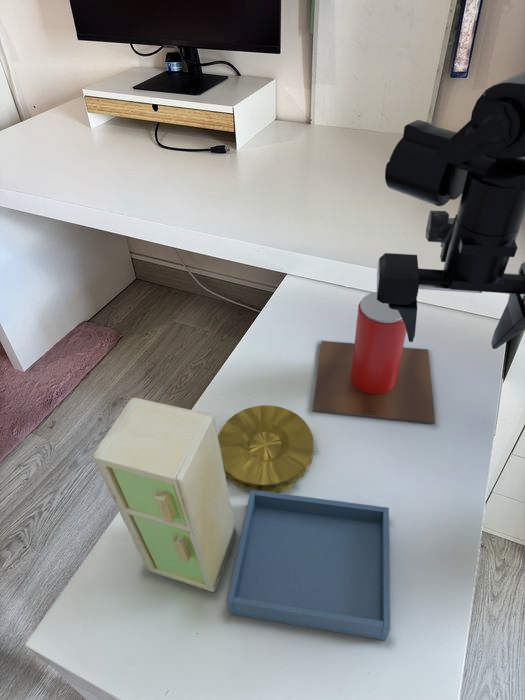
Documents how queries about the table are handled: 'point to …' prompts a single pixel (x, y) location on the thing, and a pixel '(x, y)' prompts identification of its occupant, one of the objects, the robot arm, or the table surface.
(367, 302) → the can
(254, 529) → the tray
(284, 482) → the gold round disc
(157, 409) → the toy refrigerator
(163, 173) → the table surface
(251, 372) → the table surface
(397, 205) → the table surface
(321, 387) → the walnut board
